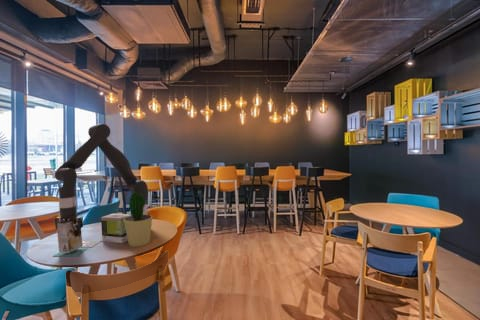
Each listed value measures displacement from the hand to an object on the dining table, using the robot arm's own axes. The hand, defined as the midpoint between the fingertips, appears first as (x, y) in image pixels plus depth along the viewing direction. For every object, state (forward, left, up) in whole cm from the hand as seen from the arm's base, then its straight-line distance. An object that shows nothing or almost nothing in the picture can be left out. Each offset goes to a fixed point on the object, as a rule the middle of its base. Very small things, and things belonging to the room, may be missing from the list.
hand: (70, 236), depth 141 cm
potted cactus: (-32, -13, -9) cm, 35 cm away
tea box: (-16, -19, -9) cm, 26 cm away
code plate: (+1, -12, -9) cm, 15 cm away
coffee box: (0, 0, -7) cm, 7 cm away
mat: (0, 0, -9) cm, 9 cm away
